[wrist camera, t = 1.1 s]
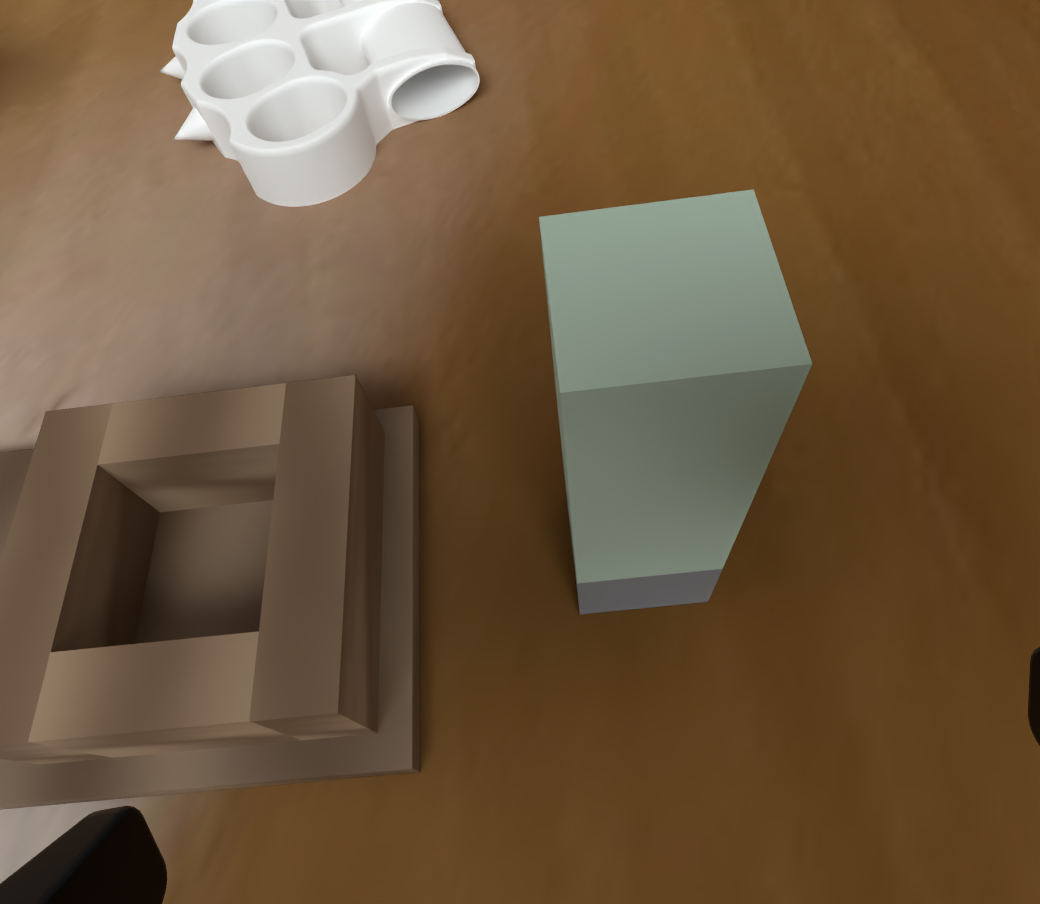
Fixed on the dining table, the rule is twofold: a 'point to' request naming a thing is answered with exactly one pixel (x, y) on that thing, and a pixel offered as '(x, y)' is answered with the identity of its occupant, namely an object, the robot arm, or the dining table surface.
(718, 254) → the sage green square pillar
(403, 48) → the white brass knuckles
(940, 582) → the dining table surface
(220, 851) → the dining table surface
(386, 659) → the wooden socket base
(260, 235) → the dining table surface
